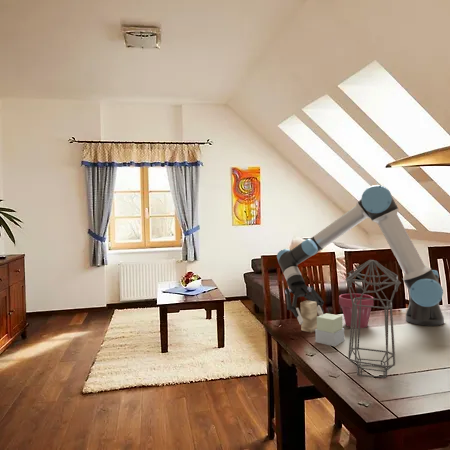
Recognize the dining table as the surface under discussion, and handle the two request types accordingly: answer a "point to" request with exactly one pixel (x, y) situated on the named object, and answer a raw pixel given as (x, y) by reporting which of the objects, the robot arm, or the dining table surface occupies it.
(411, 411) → the dining table surface
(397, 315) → the dining table surface
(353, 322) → the geometric lantern
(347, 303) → the plant pot
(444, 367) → the dining table surface
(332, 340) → the tower base
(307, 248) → the robot arm
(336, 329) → the tower top
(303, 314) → the pillar
